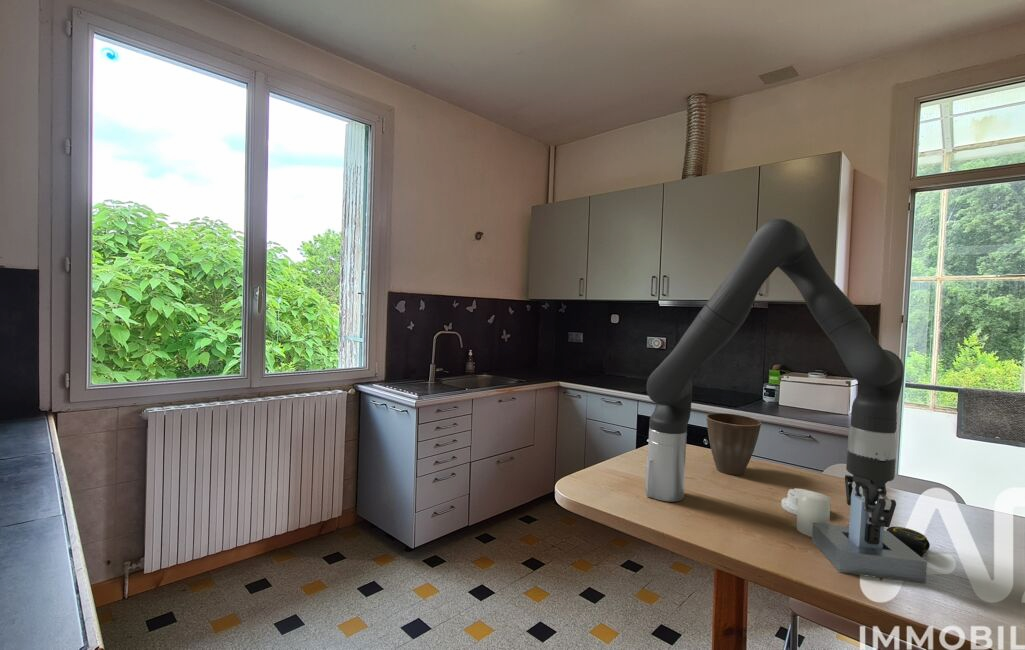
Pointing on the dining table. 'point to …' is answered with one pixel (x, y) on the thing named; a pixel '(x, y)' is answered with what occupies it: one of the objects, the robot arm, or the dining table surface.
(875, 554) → the socket block
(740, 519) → the dining table surface
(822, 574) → the dining table surface
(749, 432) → the plant pot
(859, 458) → the robot arm
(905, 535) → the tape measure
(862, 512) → the square bit
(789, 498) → the mechanical component
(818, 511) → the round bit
